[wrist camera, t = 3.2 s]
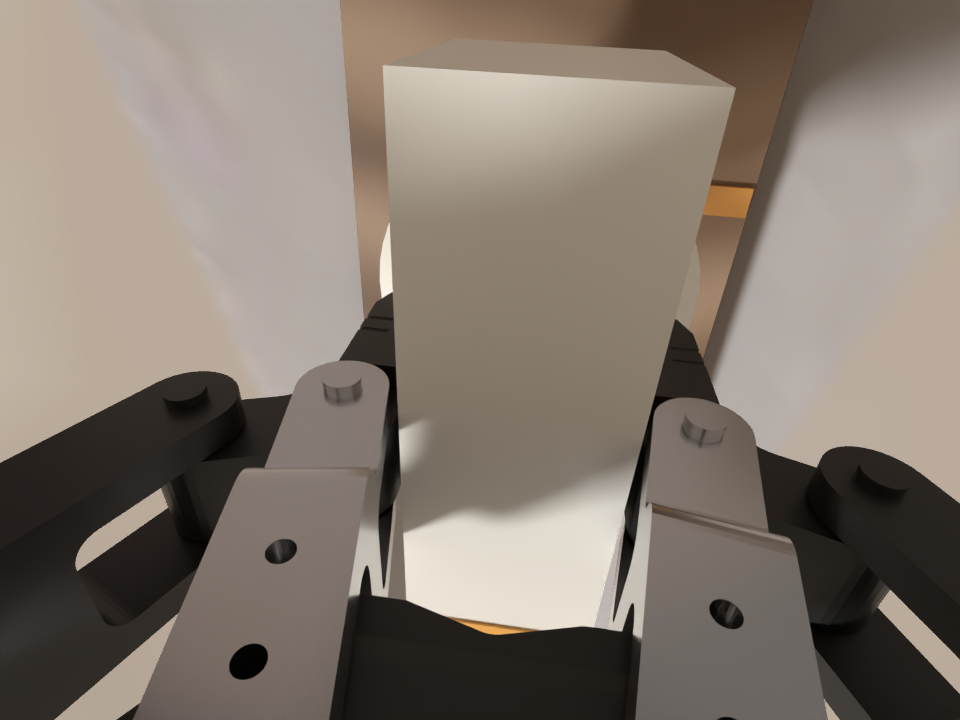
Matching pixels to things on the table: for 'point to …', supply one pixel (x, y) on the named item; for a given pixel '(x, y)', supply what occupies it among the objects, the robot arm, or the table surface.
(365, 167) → the lock base
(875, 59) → the table surface
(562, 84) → the twist knob
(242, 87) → the table surface
